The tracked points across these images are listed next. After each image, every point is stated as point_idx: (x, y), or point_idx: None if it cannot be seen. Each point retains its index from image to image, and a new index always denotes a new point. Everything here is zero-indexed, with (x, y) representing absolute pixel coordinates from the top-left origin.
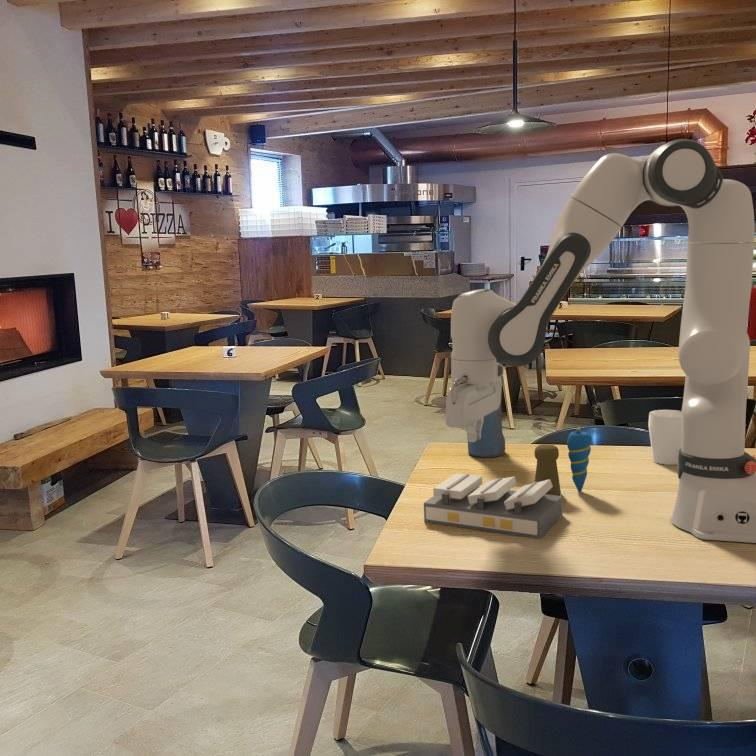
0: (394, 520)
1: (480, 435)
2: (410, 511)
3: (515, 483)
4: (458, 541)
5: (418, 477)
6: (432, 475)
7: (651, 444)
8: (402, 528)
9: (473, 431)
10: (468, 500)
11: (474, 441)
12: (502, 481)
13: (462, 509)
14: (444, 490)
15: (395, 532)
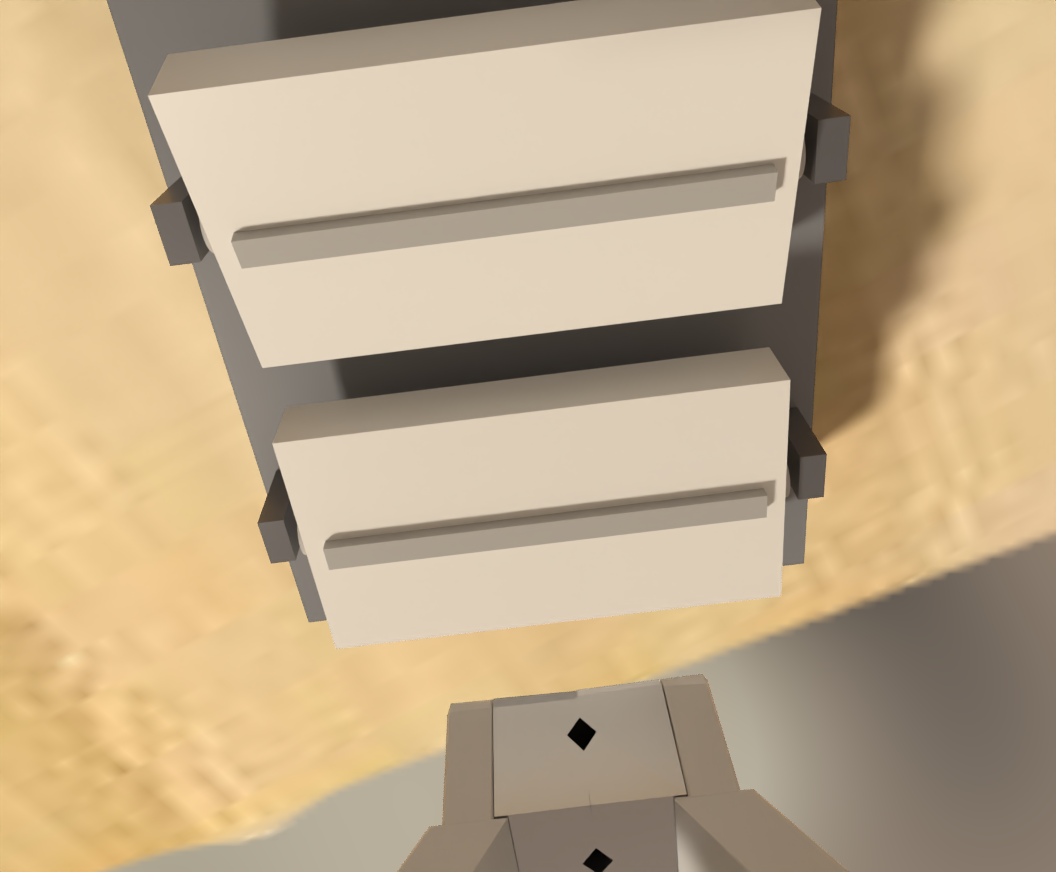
0: (801, 618)
1: (470, 742)
2: (628, 628)
3: (204, 55)
4: (1046, 110)
5: (95, 862)
6: (6, 833)
7: None
8: (910, 523)
9: (805, 850)
10: (625, 332)
11: (702, 683)
12: (349, 163)
13: (816, 275)
14: (781, 509)
15: (985, 520)
